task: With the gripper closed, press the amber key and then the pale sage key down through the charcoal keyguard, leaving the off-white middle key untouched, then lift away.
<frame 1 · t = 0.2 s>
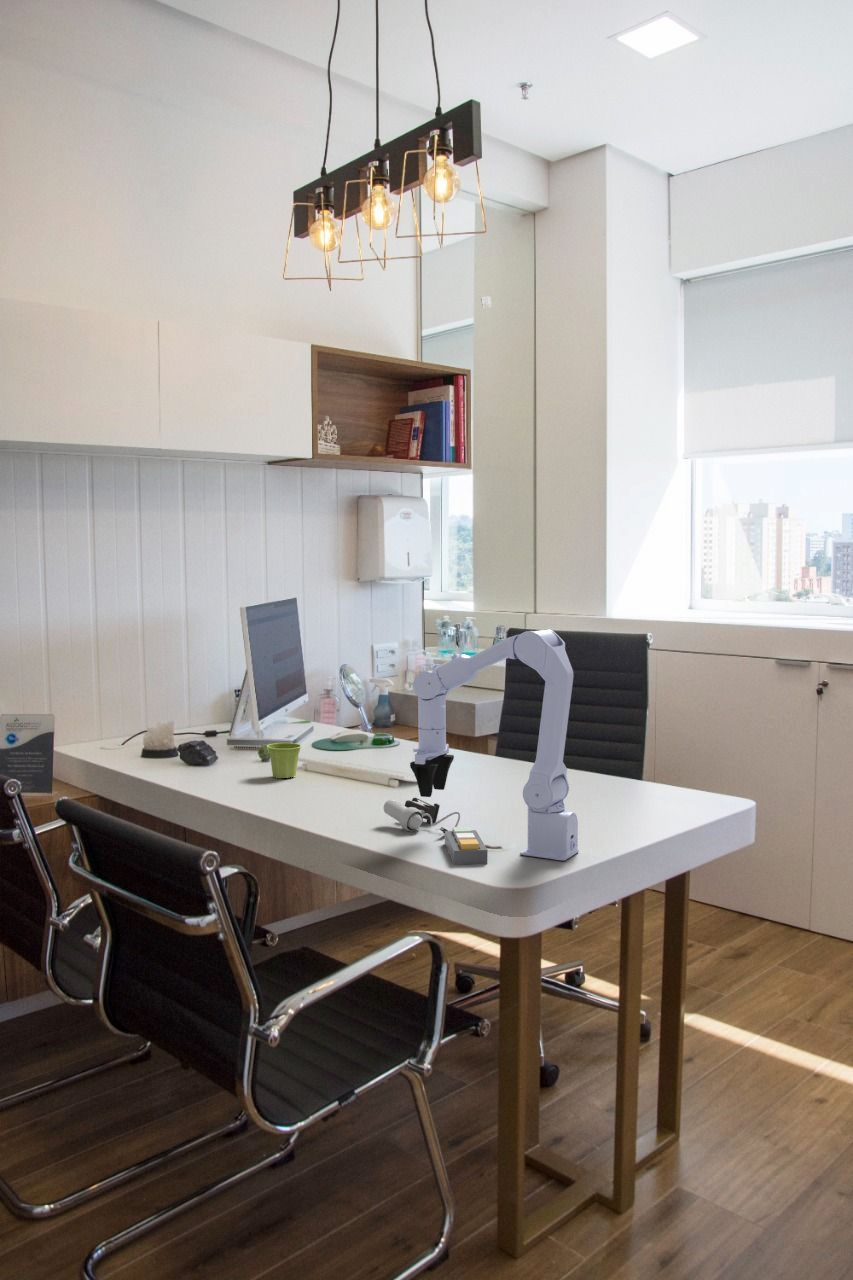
hand: (432, 792, 219), 10 cm above the table, tool pointing down, fingers open, 7 cm apart
keypad: (465, 853, 208), on the table
amber key: (468, 846, 203), point 3 cm above the table, slide at 0.0 cm
sage key: (462, 833, 213), point 3 cm above the table, slide at 0.0 cm
middle key: (465, 839, 208), point 3 cm above the table, slide at 0.0 cm
clip-on lamp: (424, 829, 228), on the table
plant pot: (284, 778, 285), on the table
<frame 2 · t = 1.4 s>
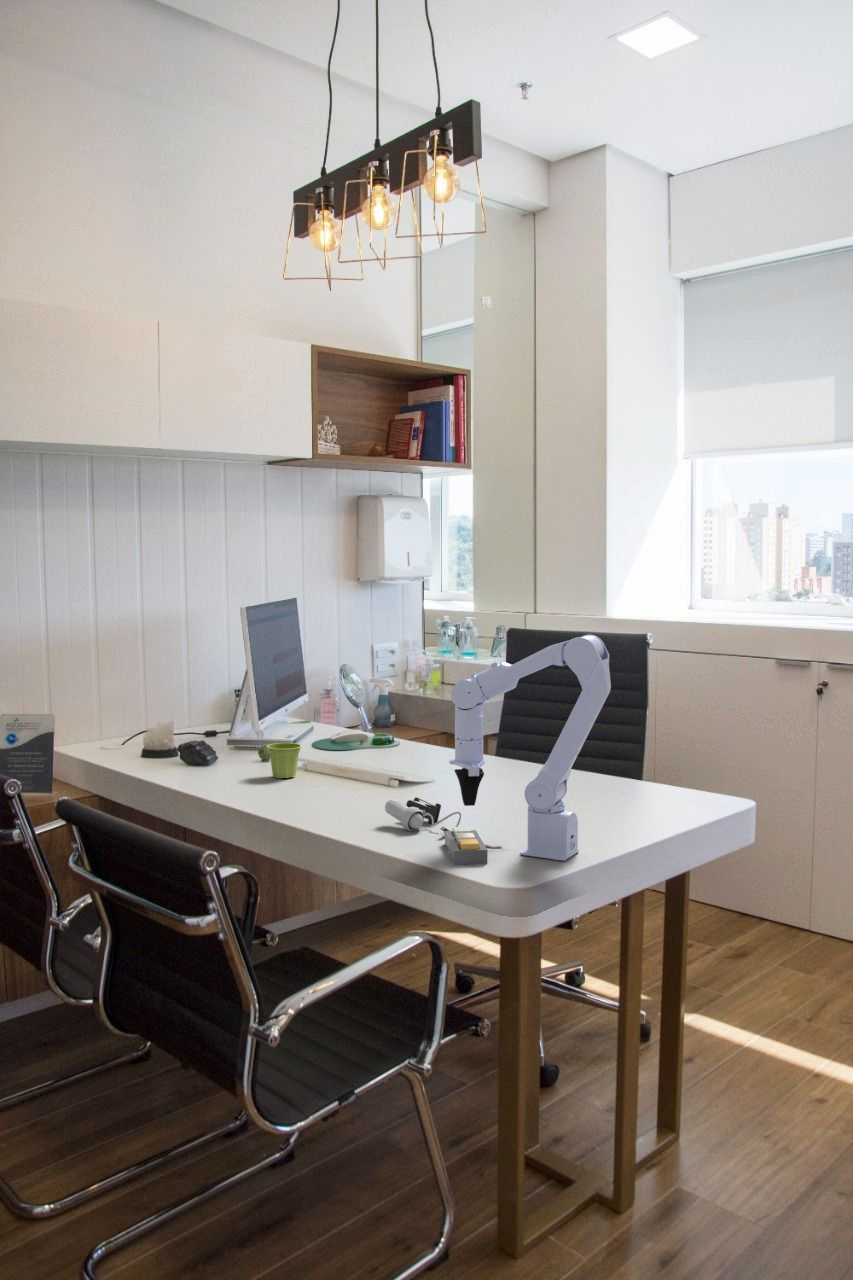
hand: (469, 804, 213), 8 cm above the table, tool pointing down, fingers closed
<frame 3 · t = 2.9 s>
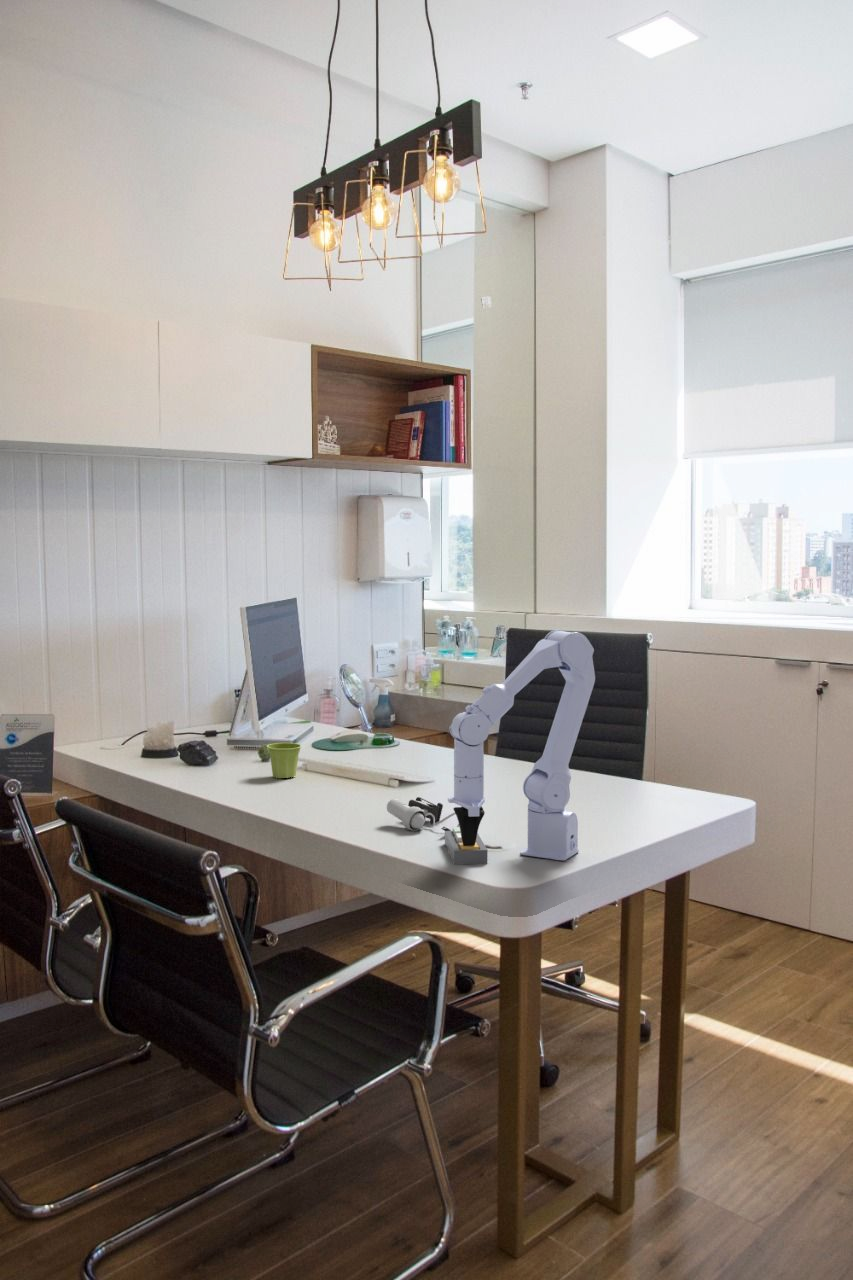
hand: (468, 845, 203), 3 cm above the table, tool pointing down, fingers closed, pressing on amber key
amber key: (468, 849, 203), point 2 cm above the table, slide at 0.6 cm, touching gripper
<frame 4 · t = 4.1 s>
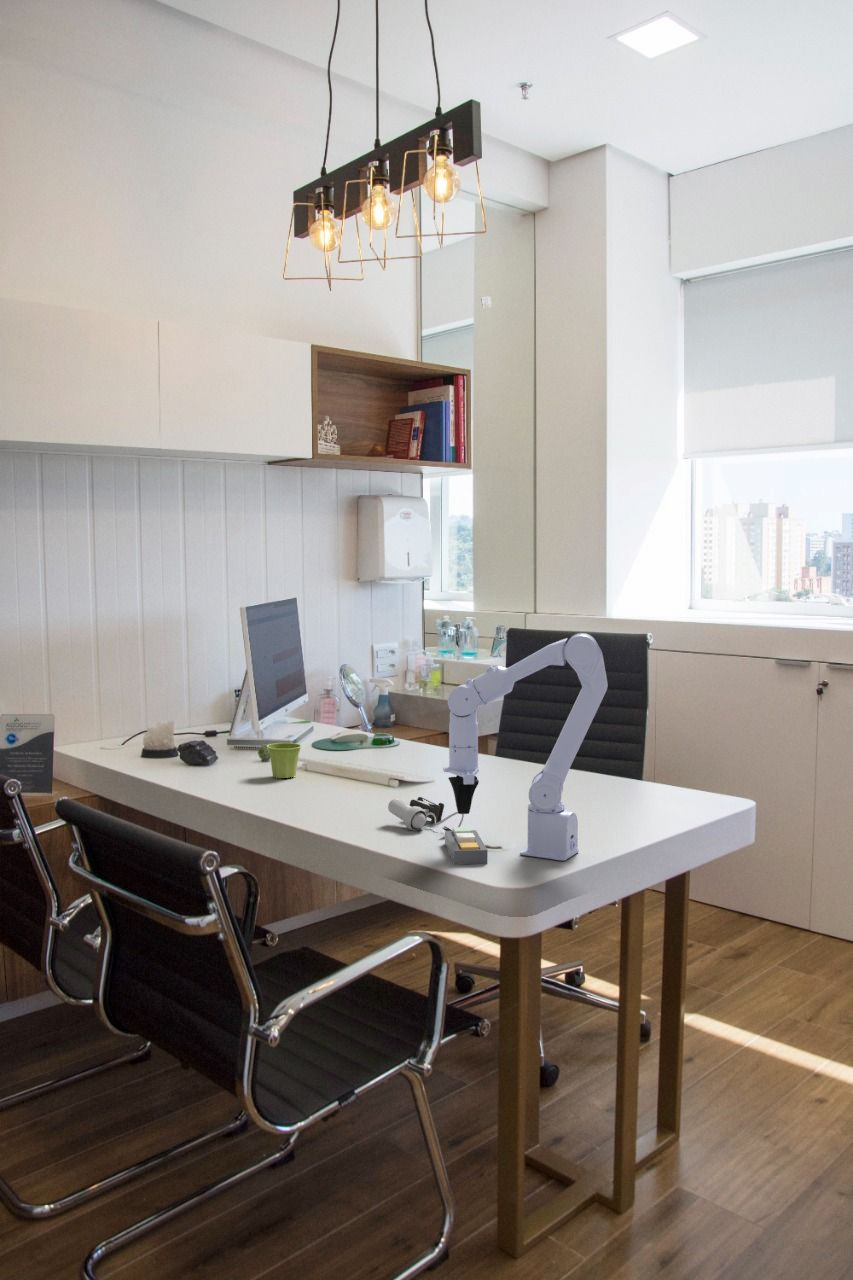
hand: (463, 813, 210), 7 cm above the table, tool pointing down, fingers closed
amber key: (468, 849, 203), point 2 cm above the table, slide at 0.6 cm
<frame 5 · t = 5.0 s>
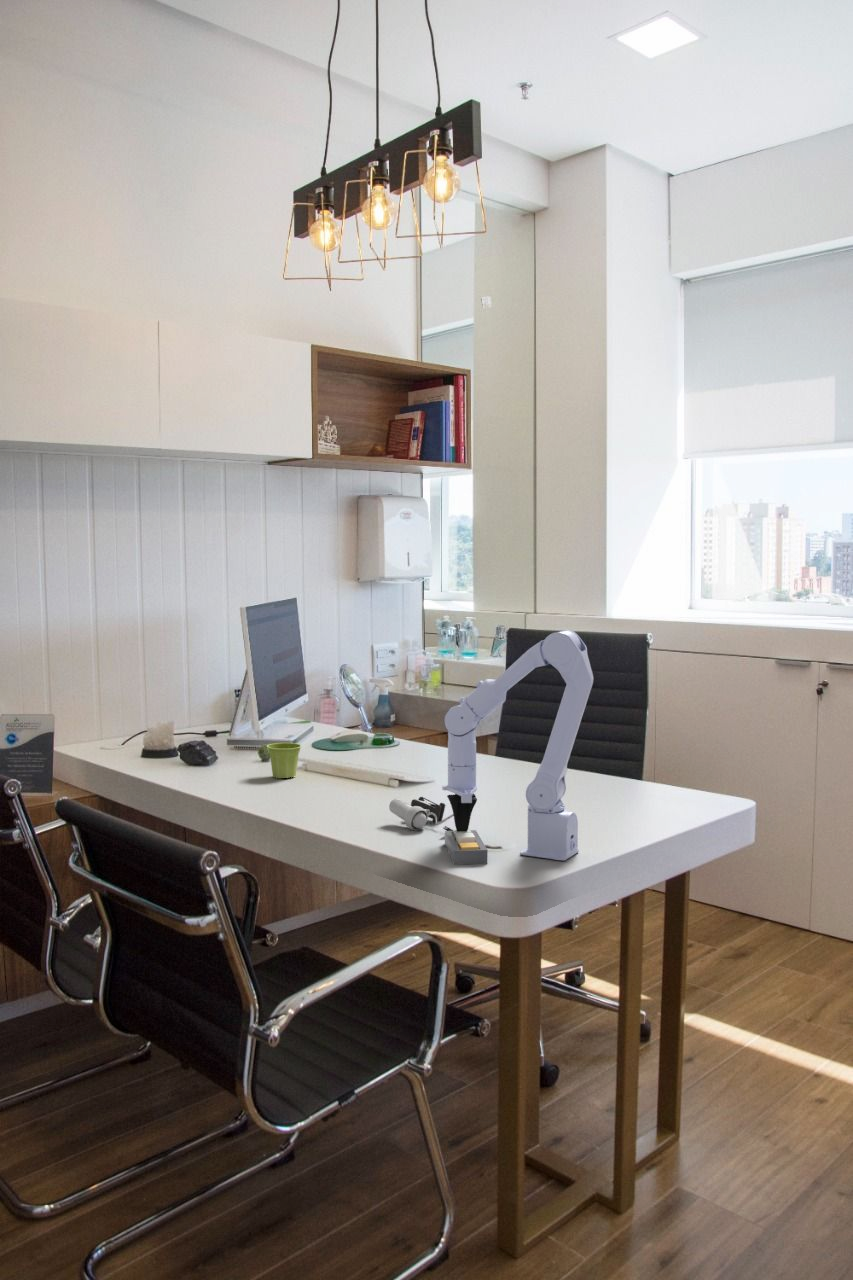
hand: (461, 830, 213), 3 cm above the table, tool pointing down, fingers closed, pressing on sage key
sage key: (462, 834, 213), point 2 cm above the table, slide at 0.3 cm, touching gripper
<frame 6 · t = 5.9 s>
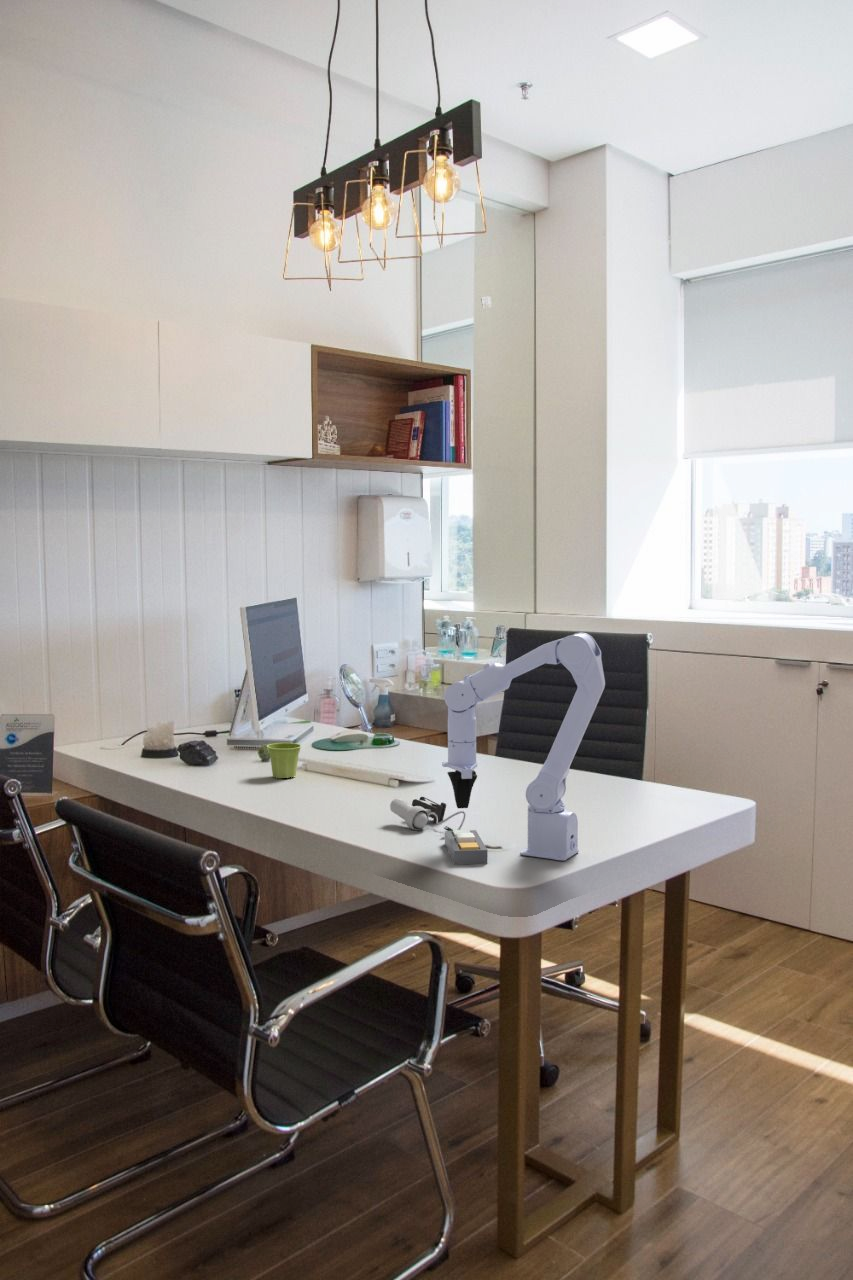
hand: (462, 807, 212), 8 cm above the table, tool pointing down, fingers closed
sage key: (462, 836, 213), point 2 cm above the table, slide at 0.6 cm
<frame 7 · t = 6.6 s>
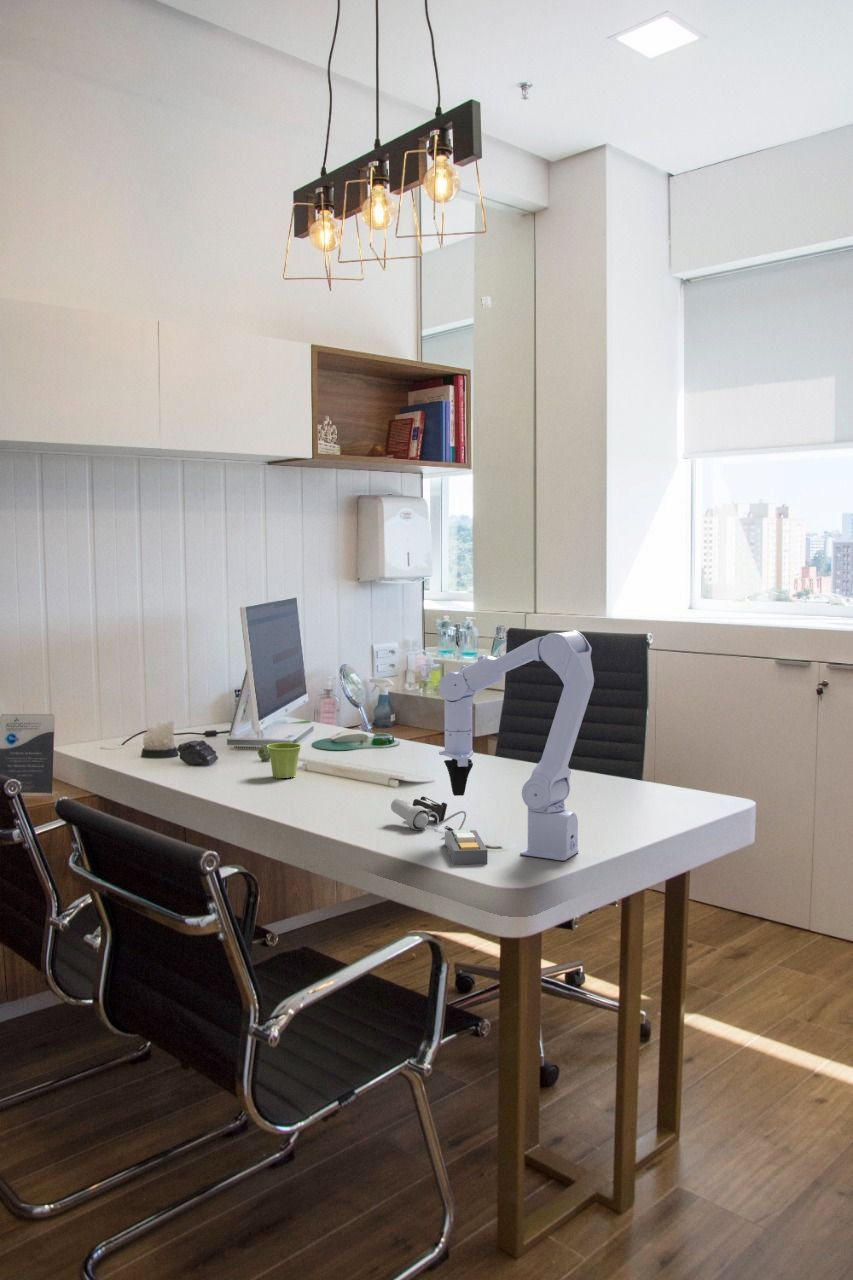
hand: (458, 794, 218), 9 cm above the table, tool pointing down, fingers closed
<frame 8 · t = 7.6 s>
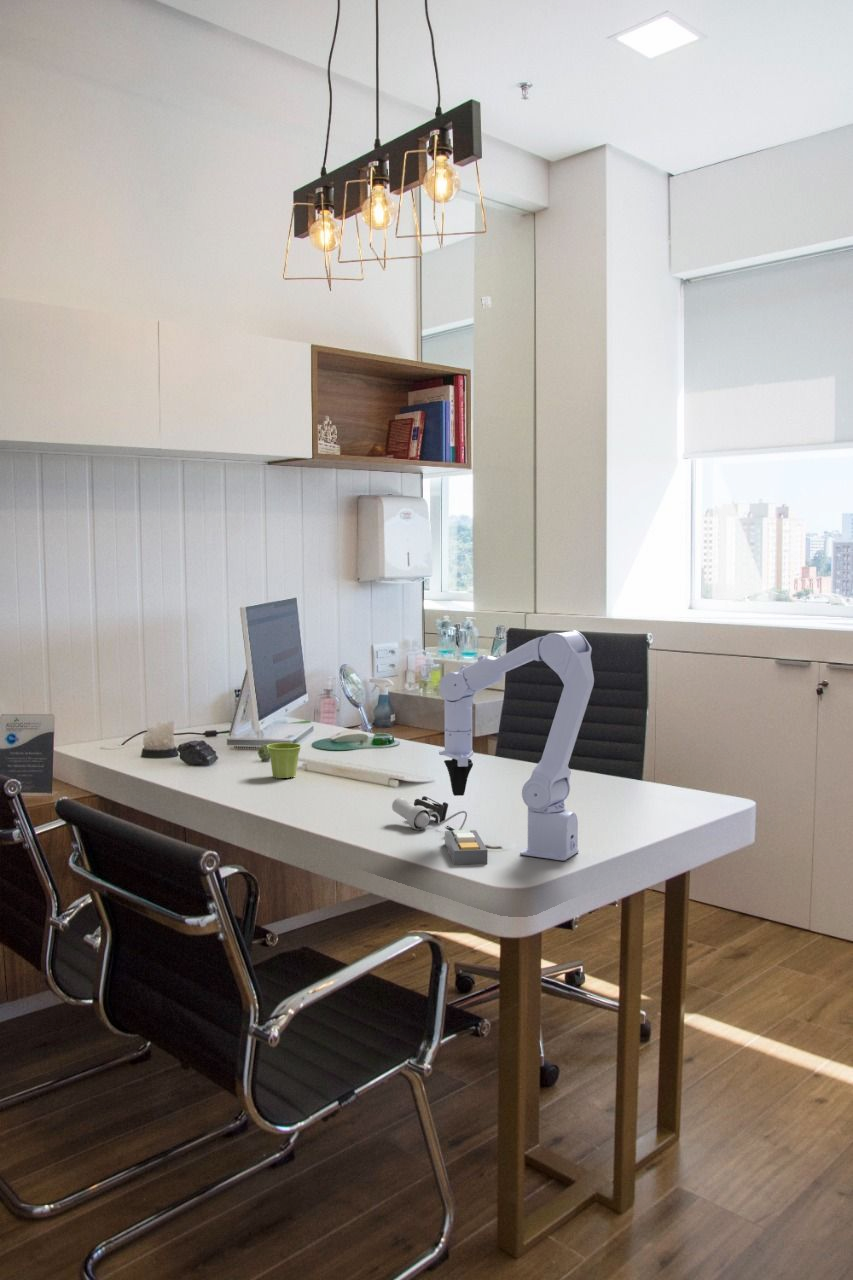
hand: (458, 794, 218), 9 cm above the table, tool pointing down, fingers closed
at the end: amber key slide at 0.6 cm; sage key slide at 0.6 cm; middle key slide at 0.0 cm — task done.
